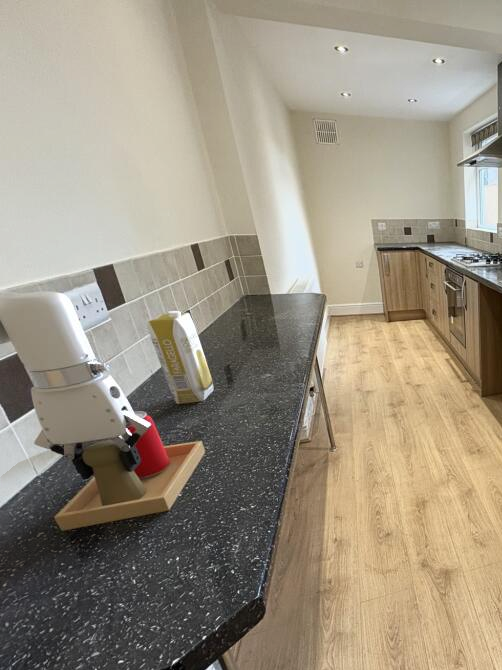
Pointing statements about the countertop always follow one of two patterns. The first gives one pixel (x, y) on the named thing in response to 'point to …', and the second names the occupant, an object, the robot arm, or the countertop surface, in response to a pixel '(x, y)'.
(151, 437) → the beverage can
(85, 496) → the tray
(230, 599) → the countertop surface
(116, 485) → the pepper shaker
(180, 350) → the juice carton
